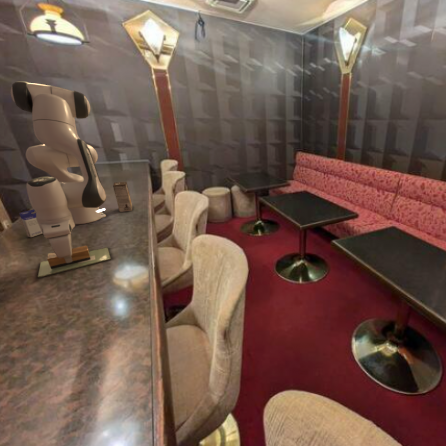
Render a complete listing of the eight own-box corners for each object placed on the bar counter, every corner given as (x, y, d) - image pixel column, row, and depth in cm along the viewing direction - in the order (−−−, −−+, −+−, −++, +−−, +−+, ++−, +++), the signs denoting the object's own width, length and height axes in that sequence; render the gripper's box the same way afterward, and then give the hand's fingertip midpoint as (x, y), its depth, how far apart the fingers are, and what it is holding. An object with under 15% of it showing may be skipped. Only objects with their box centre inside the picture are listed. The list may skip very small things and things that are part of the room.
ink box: (31, 237, 110) (21, 213, 106) (27, 237, 111) (17, 213, 107) (59, 228, 121) (51, 206, 117) (55, 227, 121) (47, 205, 117)
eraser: (51, 263, 91) (47, 253, 89) (89, 254, 98) (86, 245, 96) (51, 269, 87) (47, 259, 86) (90, 259, 94) (87, 250, 93)
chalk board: (41, 263, 91) (40, 262, 91) (107, 248, 104) (107, 247, 104) (38, 277, 83) (37, 276, 83) (110, 259, 96) (110, 258, 95)
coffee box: (120, 207, 152) (113, 182, 146) (132, 206, 155) (126, 181, 149) (119, 212, 145) (112, 185, 139) (132, 210, 148) (126, 184, 142)
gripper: (46, 217, 92) (58, 250, 97) (42, 235, 78) (57, 273, 83) (68, 214, 96) (79, 246, 101) (69, 231, 82) (81, 266, 87)
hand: (69, 258), depth 92 cm, fingers closed on eraser, 5 cm apart
